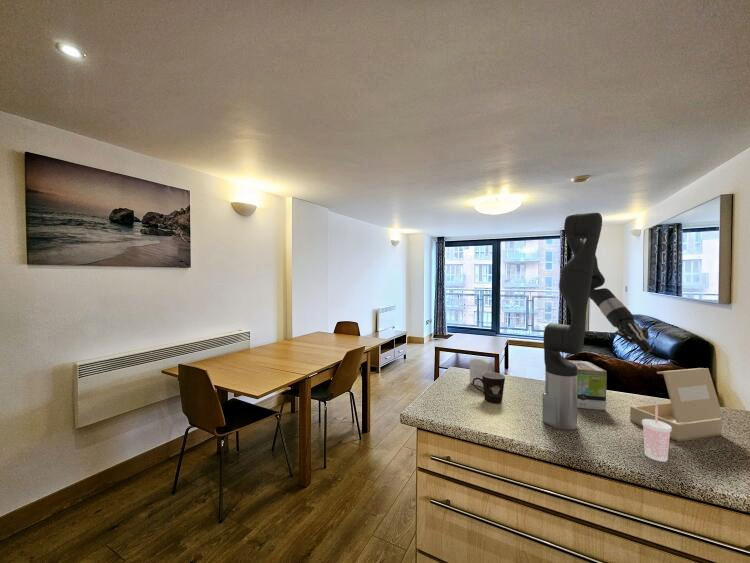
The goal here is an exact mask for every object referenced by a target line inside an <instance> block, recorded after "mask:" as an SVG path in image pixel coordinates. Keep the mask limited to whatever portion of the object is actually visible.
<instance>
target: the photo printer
mask: <svg viewBox="0 0 750 563" xmlns="http://www.w3.org/2000/svg"><path fill="white" fill-rule="evenodd" d="M469 361H470V362H469V384H472V385H473V383H472V382H473V379H475V378H480V379H482V374H483V373H485V372H493V363H492V362H490V361H489V360H487V359H486V358H483V357H472V358H470V360H469ZM474 385H475V386H477V387H481V388H483V383H482V382H481V380H479V379H476V380H475V381H474Z"/></svg>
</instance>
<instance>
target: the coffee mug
mask: <svg viewBox="0 0 750 563" xmlns="http://www.w3.org/2000/svg"><path fill="white" fill-rule="evenodd" d="M476 379H479V380H481V382H482V383H483V387H482V388H483V390H482V389H480V388H479V387H478V386H477V385H475V384H474V381H475V380H476ZM505 380H506V376H505V374H503V373H500V372H499V373H498V372H495V371H492V372H485V373H483V374H482V379H480V378H475V379H473V382H472V383H473V384H472V383H471V384H472V385H473V386H474V388H475V389H477V390H478V391H479V392H480V393H482V394H483V396H484V401H485V402H487V403H490V404H496V405H499V404H501V403H502V402H503V396H504V389H505V388H504V387H505Z"/></svg>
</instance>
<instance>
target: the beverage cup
mask: <svg viewBox="0 0 750 563" xmlns="http://www.w3.org/2000/svg"><path fill="white" fill-rule="evenodd" d="M642 425H643V426H642V427H643V428H642V429H643V430H642V431H643V432H642V433H643V444H644V445H643V446H644V455H645V456H647V457H648V458H649V459H651V460H654V461H658V462H667V461H668V459H669V458H668V457H669V448H670V432H671V431H672V430H671V429H672V427H671V426H670V425H668V424H666V423H664V422H661V421H658V406H657V405H655V420H652V419H643V420H642Z"/></svg>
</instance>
